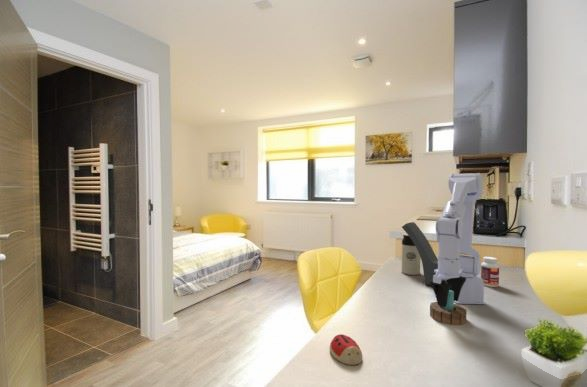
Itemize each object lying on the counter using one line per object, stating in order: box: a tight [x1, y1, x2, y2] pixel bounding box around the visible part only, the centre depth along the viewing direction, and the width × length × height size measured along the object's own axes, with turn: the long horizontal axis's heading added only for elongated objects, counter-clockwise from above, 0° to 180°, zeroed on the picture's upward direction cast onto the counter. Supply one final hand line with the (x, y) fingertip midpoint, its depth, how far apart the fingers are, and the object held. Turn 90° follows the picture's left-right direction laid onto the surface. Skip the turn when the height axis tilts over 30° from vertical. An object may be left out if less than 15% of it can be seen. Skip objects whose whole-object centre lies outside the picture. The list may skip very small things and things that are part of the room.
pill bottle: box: [480, 256, 500, 288], centre depth 123 cm, size 6×6×11 cm
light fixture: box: [401, 221, 448, 287], centre depth 126 cm, size 11×17×24 cm, turn 45°
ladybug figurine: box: [329, 333, 363, 366], centre depth 70 cm, size 7×10×4 cm
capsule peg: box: [442, 290, 455, 311], centre depth 91 cm, size 3×3×8 cm
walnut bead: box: [429, 301, 467, 326], centre depth 91 cm, size 10×10×3 cm
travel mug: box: [401, 232, 421, 276], centre depth 140 cm, size 8×8×18 cm
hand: (448, 302), depth 91 cm, fingers open, 7 cm apart
